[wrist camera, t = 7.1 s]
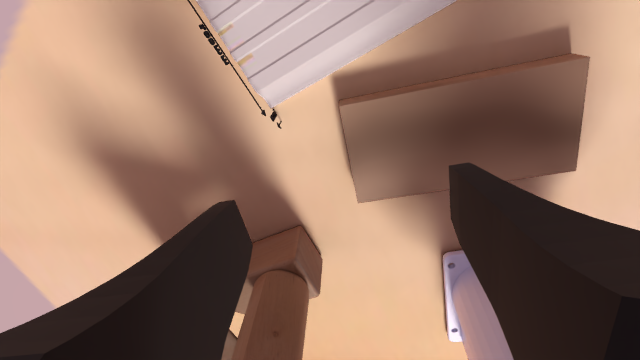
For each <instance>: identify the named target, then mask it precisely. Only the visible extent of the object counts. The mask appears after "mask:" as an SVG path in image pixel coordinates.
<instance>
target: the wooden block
mask: <svg viewBox="0 0 640 360" xmlns="http://www.w3.org/2000/svg"><path fill="white" fill-rule="evenodd" d="M252 244H253V248H252V254H251V260H250V265H249V270H248V274H247V277H246V280H245V283H244V286H243V289H242V292H241V295H240V298H239V301H238V304H237V307H236V310H235V312H238V313H242V314H245V316H244V319H243V323H242V326H241V329H240V332H239V336H238V338H237V337H236V336H235V335H234V334H233V333H232V332H231V331H230V329H229V331H228V334H227V338H226V341H225V345H224V350H223V354H222V359H221V360H302V356H303V347H304V338H305V329H306V321H307V312H308V303H309V299H311V298H314V297H317V296H319V294H320V287H321V274H322V262H323V261H322V258H321V256H320V254H319V253H318V251H317V250H316V248H315V246H314V245H313V243H312V242H311V240H310V239H309V237H308V235H307V234H306V232H305V231H304V229H303V228H302V227H301V226H298V227H295V228H292V229H289V230H287V231H284V232H281V233H279V234H276V235H273V236H270V237H268V238H265V239H262V240H260V241H257V242H254V243H252Z"/></svg>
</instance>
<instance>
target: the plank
mask: <svg viewBox="0 0 640 360" xmlns="http://www.w3.org/2000/svg"><path fill="white" fill-rule="evenodd" d="M589 59H590V57H588V56H582V55H577V54H572V53H571V54H566V55H561V56H556V57H551V58H546V59H541V60H536V61H531V62H526V63H521V64H516V65H511V66H506V67H501V68H497V69H492V70H487V71H482V72H477V73H472V74H467V75H462V76H457V77H452V78H447V79H442V80H437V81H432V82H427V83H422V84H417V85H412V86H407V87H402V88H397V89H392V90H387V91H382V92H377V93H372V94H367V95H362V96H357V97H352V98H347V99H342V100H340V101H339V109H340V114H341V119H342V125H343V130H344V135H345V140H346V145H347V150H348V155H349V160H350V165H351V170H352V176H353V181H354V186H355V191H356V196H357V201H358V203H363V202H370V201H377V200H383V199H390V198H397V197H403V196H410V195H417V194H423V193H430V192H437V191H443V190H450V186H449V165H456V164H462V163H468V162H469V163H472V164H474V165H476V166H478V167H480V168H482V169H484V170H485V171H487V172H489V173H491V174H493V175H495V176H497V177H499V178H501V179H502V180H504V181H510V180H517V179H524V178H530V177H537V176H544V175H550V174H557V173H564V172H570V171H576V167H577V158H578V150H579V142H580V134H581V125H582V117H583V109H584V101H585V92H586V84H587V76H588V68H589Z"/></svg>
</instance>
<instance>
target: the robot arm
mask: <svg viewBox="0 0 640 360" xmlns="http://www.w3.org/2000/svg"><path fill="white" fill-rule="evenodd" d="M449 186H450V208H451V220H452V223H453V226H454V229H455V232H456V234H457V237H458V240H459V243H460V245H461V247H462V249H463V250H461V251H452V252H447V253H445V254H444V255H443V272H444V288H445V304H446V320H447V335H448V338H449V340H450V341H452V342H460V341H462V342H463V345H464V348H465V351H466V354H467V357H468V360H640V231H639V230H635V229H632V228H628V227H624V226H621V225H617V224H613V223H610V222H606V221H603V220H600V219H597V218H593V217H590V216H588V215H585V214H582V213H579V212H576V211H573V210H570V209H567V208H565V207H562V206H560V205H557V204H554V203H552V202H550V201H547V200H545V199H543V198H540V197H538V196H536V195H533V194H531V193H529V192H527V191H525V190H523V189H520V188H518V187H516V186H514V185H512V184H510V183H508V182H506V181H504V180H502V179H501V178H499V177H497V176H495V175H493V174H491V173H489V172H487V171H485V170H484V169H482V168H480V167H478V166H476V165H474V164H472V163H469V162H468V163H462V164H456V165H449ZM252 248H253V244H252V242H251V239H250V237H249V234H248V232H247V230H246V227H245V225H244V222H243V220H242V217H241V215H240V212H239V210H238V207H237V205H236V202H235V200H232V201H225V202H219V203H217V204H215V205H214V206H212V207H211V208H209V209H208V210H207V211H205V212H204V213H203V214H201V215H200V216H199V217H197V218H196V219H195V220H194V221H192V222H191V223H190V224H189V225H187V226H186V227H185V228H184V229H182V230H181V231H180V232H179V233H177V234H176V235H175V236H173V237H172V238H171V239H169V240H168V241H167V242H165V243H164V244H163V245H161V246H160V247H159V248H157V249H156V250H155V251H153V252H152V253H151V254H149V255H148V256H146V257H145V258H144V259H142V260H141V261H139V262H138V263H136V264H135V265H133V266H132V267H130V268H129V269H127V270H125V271H124V272H122V273H121V274H119V275H117V276H116V277H114V278H113V279H111V280H109V281H107V282H106V283H104V284H102V285H100V286H98V287H97V288H95V289H93V290H91V291H89V292H88V293H86V294H84V295H82V296H80V297H79V298H77V299H75V300H73V301H71V302H69V303H67V304H65V305H63V306H61V307H59V308H57V309H55V310H53V311H50V312H48V313H46V314H44V315H42V316H40V317H37V318H35V319H33V320H31V321H29V322H26V323H24V324H22V325H19V326H17V327H15V328H12V329H10V330H7V331H5V332H3V333H0V360H221V359H222V354H223V350H224V345H225V341H226V338H227V334H228V331H229V328H230V325H231V322H232V319H233V316H234V313H235V310H236V307H237V304H238V301H239V298H240V295H241V292H242V289H243V286H244V283H245V280H246V277H247V274H248V270H249V265H250V260H251V254H252ZM450 263H453V264H451V265H449V264H450Z"/></svg>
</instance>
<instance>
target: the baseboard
mask: <svg viewBox="0 0 640 360" xmlns="http://www.w3.org/2000/svg"><path fill="white" fill-rule="evenodd" d="M195 1H196V2H197V3H198V4H199V6H200V7H201V9H202V10H203V12H204V13H205V15H206V16H207V18H208V19H209V21H210V23H211V25H212V27H213V28H214V30H215V31H216V32H217V33H218V35H219V36H220V38H221V39H222V41H223V42H224V44H225V45H226V47H227V48H228V50H229V51H230V54H231V55H232V57H233V58H234V60H235V61H236V62H237V63H238V65H239V66H240V68H241V69H242V71H243V72H244V74H245V75H246V77H247V79H248V81H249V82H250V84H251V85H252V87H253V89H254V90H255V92H256V93H257V94H259V95H260V96H261V97H262V98H263V99H264V100H265V101H266V102H267V104H268V105H269V107H270V108H273V107H274V106H276V105H278V104H280V103H281V102H283V101H285V100H287V99H288V98H290V97H292V96H293V95H295V94H297V93H299V92H300V91H302V90H304V89H305V88H307V87H309V86H311V85H312V84H314V83H316V82H318V81H319V80H321V79H323V78H324V77H326V76H328V75H330V74H331V73H333V72H335V71H336V70H338V69H340V68H342V67H343V66H345V65H347V64H349V63H350V62H352V61H354V60H355V59H357V58H359V57H361V56H362V55H364V54H366V53H367V52H369V51H371V50H373V49H374V48H376V47H378V46H380V45H381V44H383V43H385V42H386V41H388V40H390V39H392V38H393V37H395V36H397V35H398V34H400V33H402V32H404V31H405V30H407V29H409V28H411V27H412V26H414V25H416V24H417V23H419V22H421V21H423V20H424V19H426V18H428V17H429V16H431V15H433V14H435V13H436V12H438V11H440V10H442V9H443V8H445V7H447V6H448V5H450V4H452V3H454V2H455V1H457V0H195ZM188 2H189V3H190V5H191V6H192V8H193V9H194V11H195V12H196V14H197V15H198V17H199V18H200V20H201V21H202V23H203V24H204V25H203V24H202V25H201V24H200V25H199V27H200V29H204V30H206V29H207V30H208V31H205V32H204V35H205V36H206V38H209V37H211V36H212V37H213V35H212V34H211V32H210V31H209V29H208V28H207V26H206V25H205V23H204V22H203V20H202V19H201V17H200V16H199V14H198V13H197V11H196V10H195V8H194V7H193V5H192V4H191V2H190V1H189V0H188ZM205 27H206V28H205ZM209 33H210V34H209ZM210 35H211V36H210ZM213 39H214V40H215V38H214V37H213ZM213 39H212V38H210V39H208V41H209V42H210V44H211V45H214V44H215V42H216V43H217V41H216V40H215V41H214V40H213ZM217 45H218V46H219V44H218V43H217ZM217 45H215V46H213V47H214V48H215V50H216V51H217V53H218V54H219V55H221V54H224V55H225V53H224V52H223V50H222V49H221V47H220V46H219V48H220V49H221V51H222V52H223V53H222V52H219V51H220V49H217V47H218V46H217ZM224 55H222V56H221V59H222V60H223V61H224V63H225V65H228V64H229V63H230V64H231V62H230V61H229V59H228V58H227V56H226V55H225V56H224ZM224 57H226V58H227V59H224ZM227 60H228V61H229V62H226V61H227ZM231 66H232V67H233V65H232V64H231ZM233 69H234V70H235V68H234V67H233ZM235 72H236V73H237V71H236V70H235ZM237 75H238V76H239V74H238V73H237ZM239 78H240V79H241V77H240V76H239ZM241 81H242V82H243V80H242V79H241ZM243 84H244V85H245V83H244V82H243ZM245 87H246V88H247V86H246V85H245ZM247 90H248V91H249V89H248V88H247ZM249 93H250V94H251V92H250V91H249ZM251 96H252V97H253V95H252V94H251ZM253 99H254V100H255V98H254V97H253ZM255 102H256V103H257V101H256V100H255ZM257 105H258V106H259V104H258V103H257ZM259 108H260V109H261V107H260V106H259ZM261 111H262V113H261V114H263V115H264V116H266V114H265V110H262V109H261ZM273 111H274V109H273ZM276 116H277V114H276V112H275V111H274V112H273V113H272V115H271V116H270V118H271V119H272V121H273V122H274V120H275V118H276ZM281 122H282V121H280V123H279V124H278V123H277V125H278V127H279V128H280V129H281V127H280V124H281Z"/></svg>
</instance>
